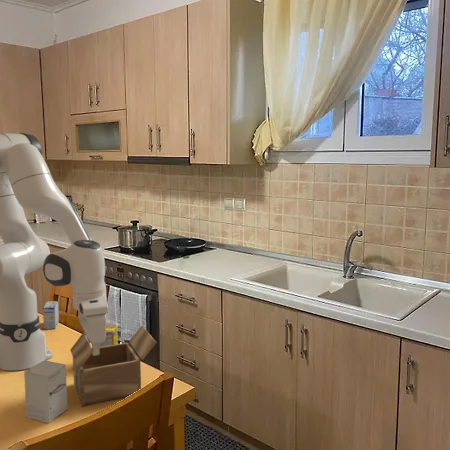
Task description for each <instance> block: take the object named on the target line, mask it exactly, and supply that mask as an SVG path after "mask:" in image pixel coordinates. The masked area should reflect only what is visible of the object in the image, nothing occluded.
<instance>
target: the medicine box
mask: <svg viewBox="0 0 450 450" xmlns="http://www.w3.org/2000/svg"><path fill="white" fill-rule="evenodd" d="M59 313H60V312H59V301H55V300H53V301H51V300H49V301H46V302H45V304H44V305H43V307H42V319H43V320H42V321H43V330H56V329H55V328H57V327H58V324H59V321H60V320H59V319H60V316H59ZM53 328H54V329H53Z"/></svg>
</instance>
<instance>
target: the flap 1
mask: <svg viewBox="0 0 450 450" xmlns="http://www.w3.org/2000/svg"><path fill="white" fill-rule="evenodd" d="M69 351H70V353H71V356H72V360H73V359H74V361H75V364H76V366H77V369H78V370H80V369H81V367H82V366H83V364H84V363H85V362H86V360H87V359H88V358H89V356H90V355H91V354H92V352H93V349H92V344H91V343H89V341H88V339H87V337H86V335H85V332H82V333H81V335H80V336H79V337H78V339H77V340H76V342H75V343H74V344H73V345H72V347H71V348H70V350H69Z"/></svg>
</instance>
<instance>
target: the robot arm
mask: <svg viewBox="0 0 450 450" xmlns="http://www.w3.org/2000/svg"><path fill="white" fill-rule="evenodd" d="M24 209H25V210H26V211H28V212H30V213H33V214H38V215H41V216H46V218H47V217H48V218H50V219H52V220H54V221H56V222H57V223H58V224H59V225H60V226H61V228H62V229H63V232H64V234H65V235H66V237H67V239H68V241H69V242H70V243H69V244H71V245H69V246H68V247H66V248H64V249H62V250H61V249H60V250H58V251H55V252H50V251H51V250H50V247H49V245H48V244H47V242H46V241H45V240H43V239H41V237H39V236H38V235H37V234H36V233H35V232H34V230H33V228H32V227H31V226H30V224H29V222H28V219H27V217H26V215H25V213H26V212H25V210H24ZM0 238H1V239H2V241H3V243H1V244H0V370H4V371H22V370H28V369H30V368H32V367H33V366H35V365H37V364H39V363H40V362H42V361H44V360H45V361H47V360H49V359H51V358H52V357H53V356H54V355H53V352H52V351H51V350H50V349H49V348H48V346H47V343H46V334H45V332H44V331H43V330H41V329H40V327H41V326H40V323H41V322H40V321H41V320H40V316H39V315H38V301H37V300H38V297H37V293H36V291H35V290H34V289H32V288H30V287H28V285H27V283H26V280H25V276H26V275H27V274H30V273H32V272H33V273H34V272H35V271H37V270H39V269H41V268H42V272H43V276H44V278H45V279H46V281H47V282H48V283H49V284H51V285H52V286H54V287H64V286H65V287H66V286H71V288H72V305H73V309H74V310H76V311H77V312H78V320H79V323H80V325H81V327H82V329H83V333H85V335H86V337H87V339H88V341H89V343H90V345H91V347H92V349H93V352H92V354H93V355H94V356H95V355H99V353H100V352H99V348H100V343H104V342H105V339H106V326H107V313H109V306H108V302H107V301H108V299H107V297H108V296H107V286H106V283H105V275H106V262H105V254H104V250H103V248H102V245H101V244H100V243H99V242H97V241H95V240H93V238H92V237H91V235H90V232H88V229H87V227H86V225H85V224H84V222H83V220H82V219H81V217H80V214H79V213H78V211H77V208H76V207H75V206H74V204H73V203H72V201H71V200H70V199H69V198H68V197H67V196H66V195H64V193H63V192H62V191H61V189H60V188H59V187H58V185H57V184H56V182H55V180H54V178H53V176H52V174H51V171H50V169H49V166H48V164H47V163H46V161H45V158H44V156H43V148H42V145H41V143H40V141H39V139H38V138H37V137H36V136H35V135H34V134H29V133H24V132H20V133H12V132H10V133H9V132H7V133H6V132H3V133H0Z"/></svg>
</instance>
